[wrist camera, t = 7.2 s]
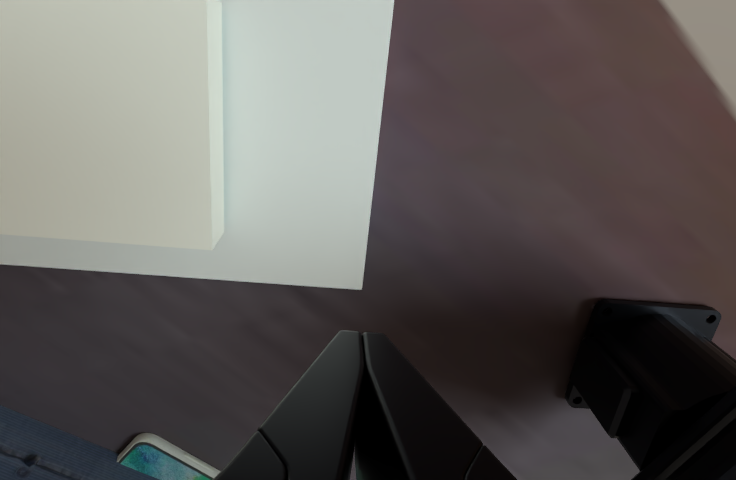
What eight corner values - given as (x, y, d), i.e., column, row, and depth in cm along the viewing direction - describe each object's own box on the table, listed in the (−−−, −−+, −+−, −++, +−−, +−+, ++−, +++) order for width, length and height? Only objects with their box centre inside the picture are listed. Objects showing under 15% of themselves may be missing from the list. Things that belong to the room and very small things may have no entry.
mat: (398, -50, 17) (400, -53, 17) (361, 284, 23) (361, 289, 22) (-122, -118, 16) (-139, -124, 15) (-34, 255, 21) (-44, 261, 21)
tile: (206, -4, 15) (-127, -44, 14) (212, 250, 18) (-58, 229, 18) (223, 3, 17) (-65, -31, 16) (225, 229, 21) (-15, 210, 20)
